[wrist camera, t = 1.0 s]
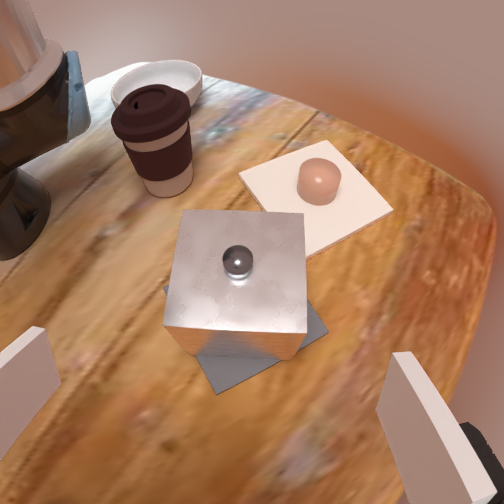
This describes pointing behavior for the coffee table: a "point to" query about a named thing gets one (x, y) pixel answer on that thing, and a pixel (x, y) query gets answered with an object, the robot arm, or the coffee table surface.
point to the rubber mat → (240, 369)
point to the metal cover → (238, 284)
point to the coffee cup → (157, 137)
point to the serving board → (315, 217)
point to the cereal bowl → (161, 79)
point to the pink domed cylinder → (318, 181)
